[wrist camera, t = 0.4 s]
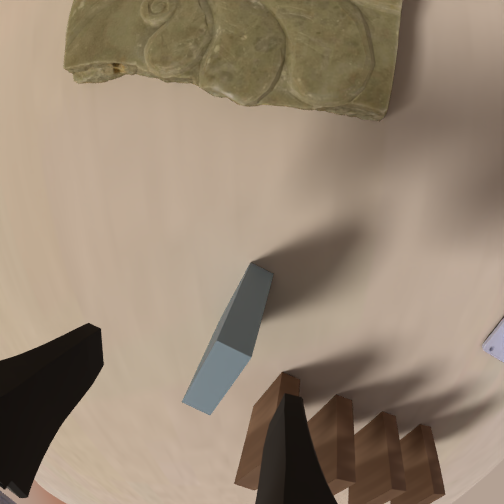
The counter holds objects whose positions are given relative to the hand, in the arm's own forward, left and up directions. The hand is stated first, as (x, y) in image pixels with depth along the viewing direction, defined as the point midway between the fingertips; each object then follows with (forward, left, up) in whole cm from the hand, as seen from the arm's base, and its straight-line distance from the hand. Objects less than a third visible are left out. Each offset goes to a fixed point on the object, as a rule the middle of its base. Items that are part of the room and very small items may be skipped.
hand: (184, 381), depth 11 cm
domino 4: (-17, +9, -10) cm, 22 cm away
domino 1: (-1, +2, -10) cm, 11 cm away
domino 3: (-12, +9, -10) cm, 18 cm away
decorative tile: (+9, -17, -11) cm, 22 cm away
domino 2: (-7, +9, -10) cm, 15 cm away
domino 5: (-22, +9, -10) cm, 26 cm away
